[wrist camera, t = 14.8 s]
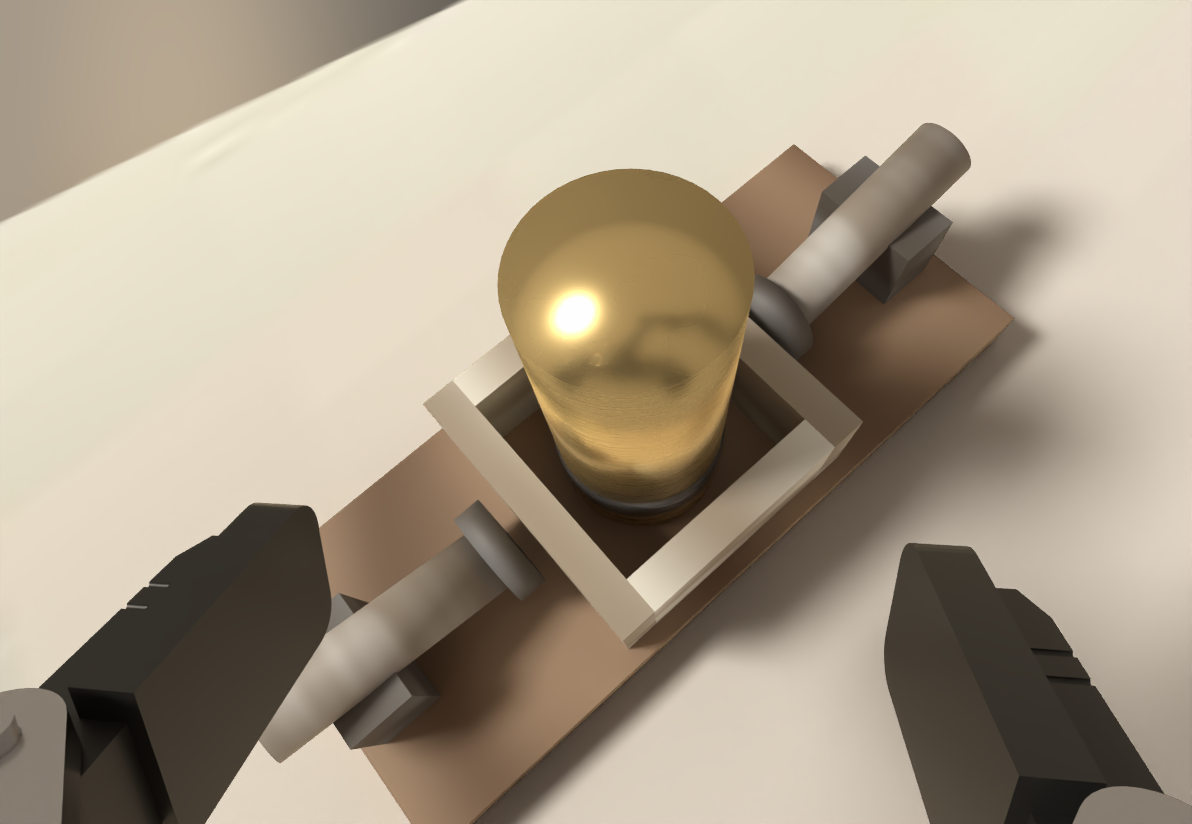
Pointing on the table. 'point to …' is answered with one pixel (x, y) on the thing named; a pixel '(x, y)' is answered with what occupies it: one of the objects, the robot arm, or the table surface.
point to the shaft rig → (607, 548)
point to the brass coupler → (630, 334)
